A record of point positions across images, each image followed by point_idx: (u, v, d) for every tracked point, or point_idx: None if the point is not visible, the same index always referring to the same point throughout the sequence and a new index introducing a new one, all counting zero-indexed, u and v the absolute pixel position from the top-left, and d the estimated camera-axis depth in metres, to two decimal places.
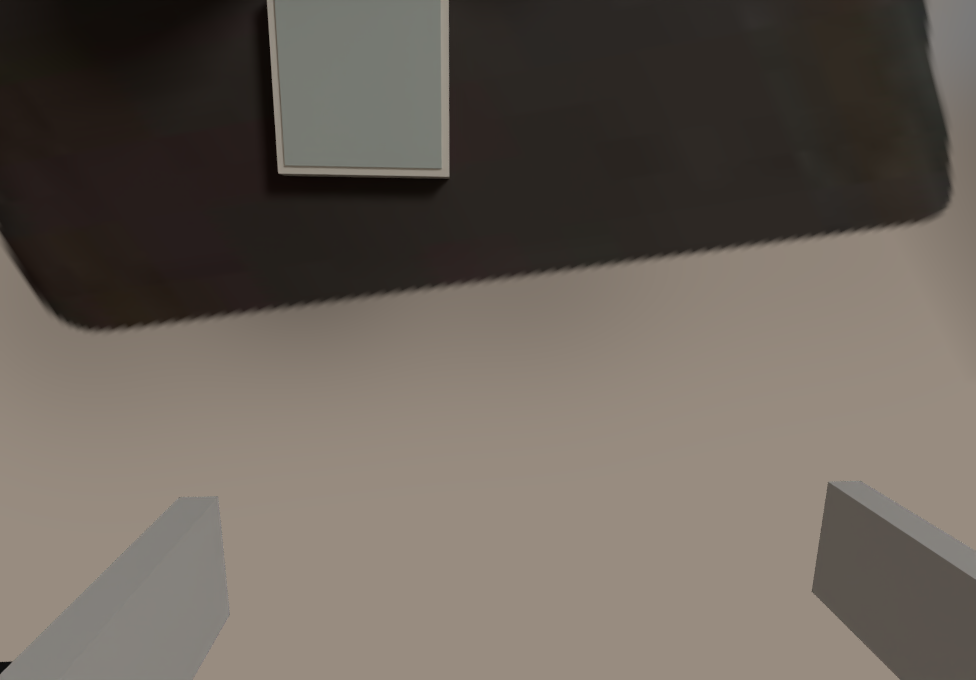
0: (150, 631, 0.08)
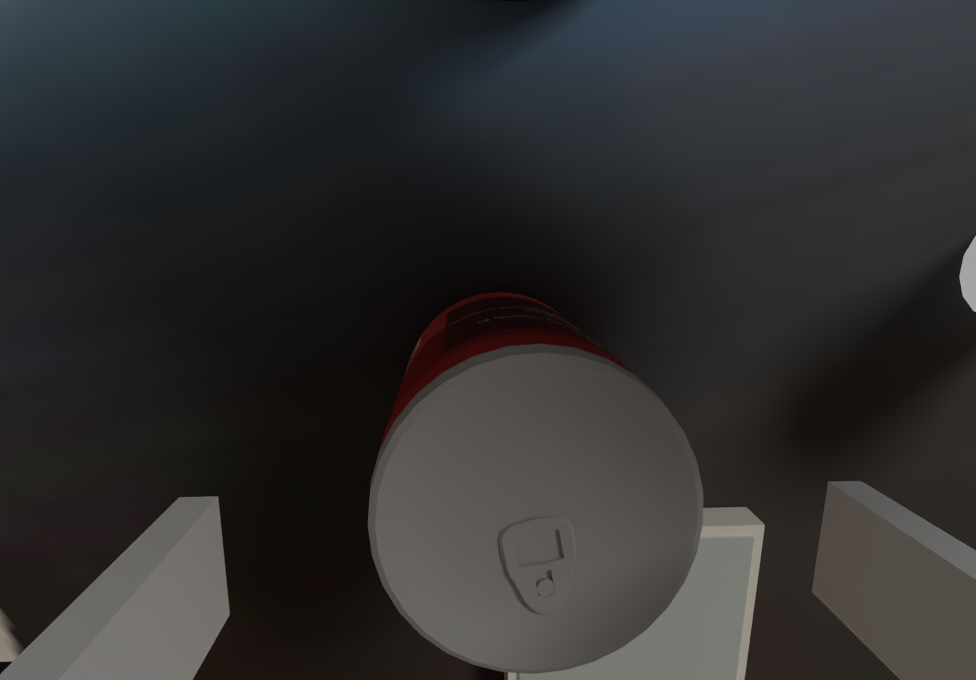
0: (150, 631, 0.08)
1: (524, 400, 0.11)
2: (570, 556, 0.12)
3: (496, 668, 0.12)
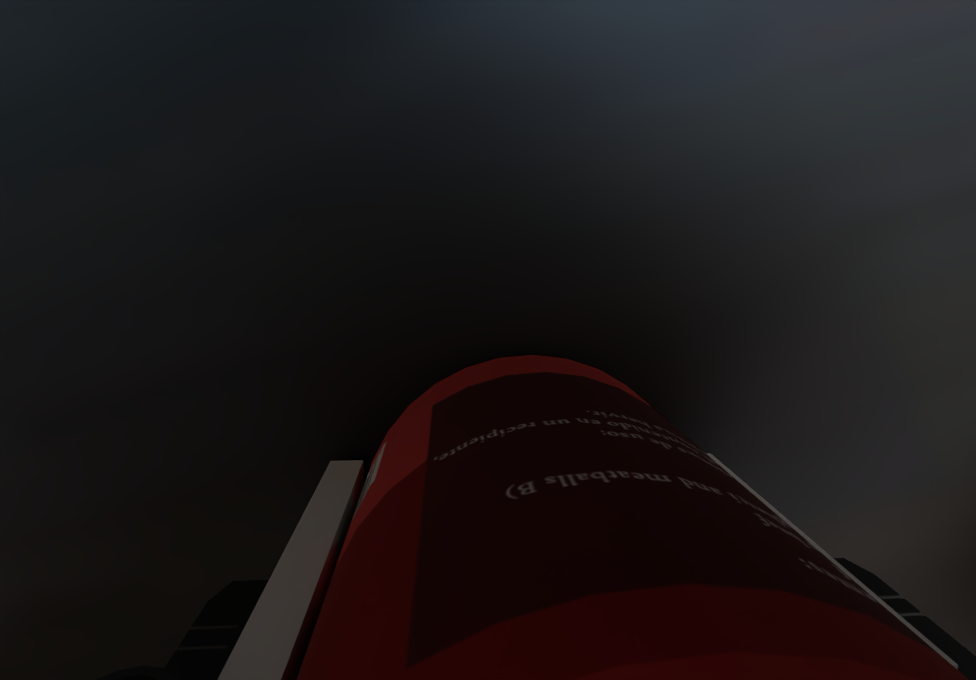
0: None
1: None
2: None
3: None
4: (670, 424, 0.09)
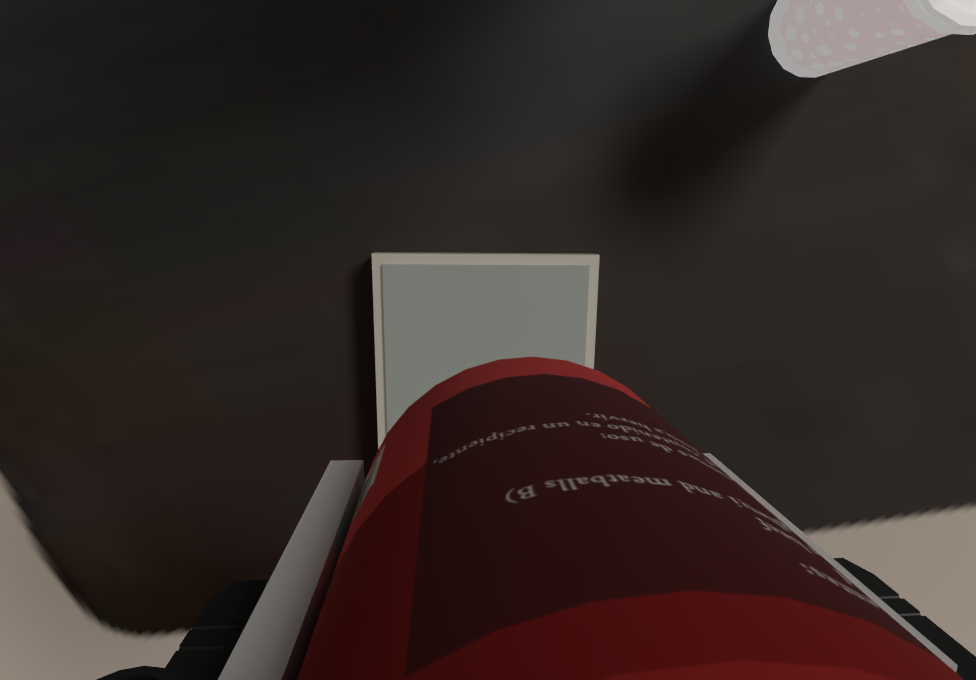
0: None
1: None
2: None
3: None
4: (670, 426, 0.09)
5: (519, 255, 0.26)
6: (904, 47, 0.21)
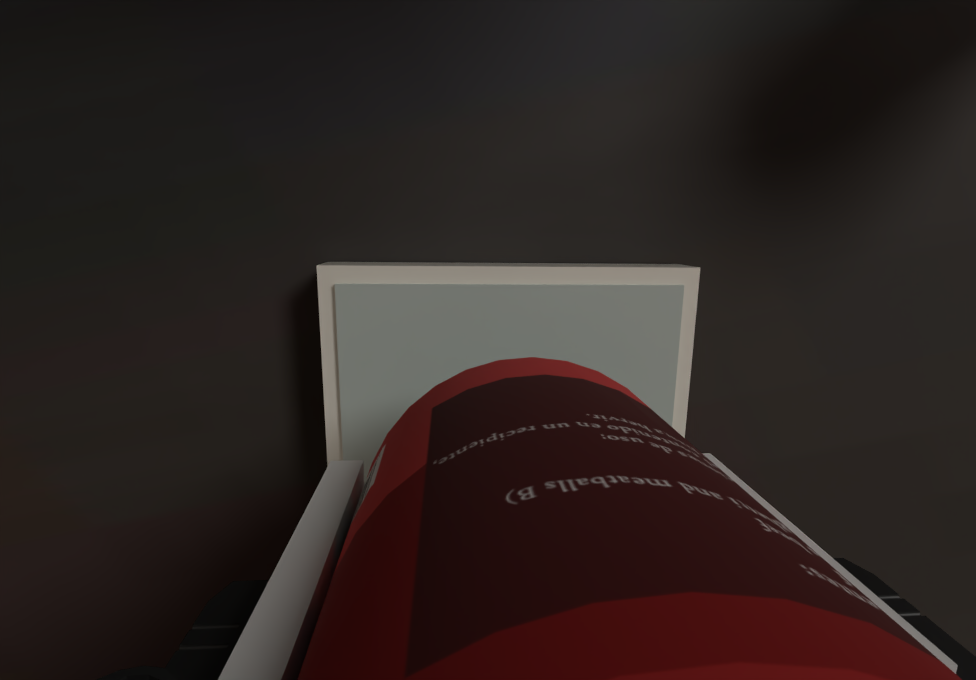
0: None
1: None
2: None
3: None
4: (670, 427, 0.09)
5: (567, 268, 0.15)
6: None
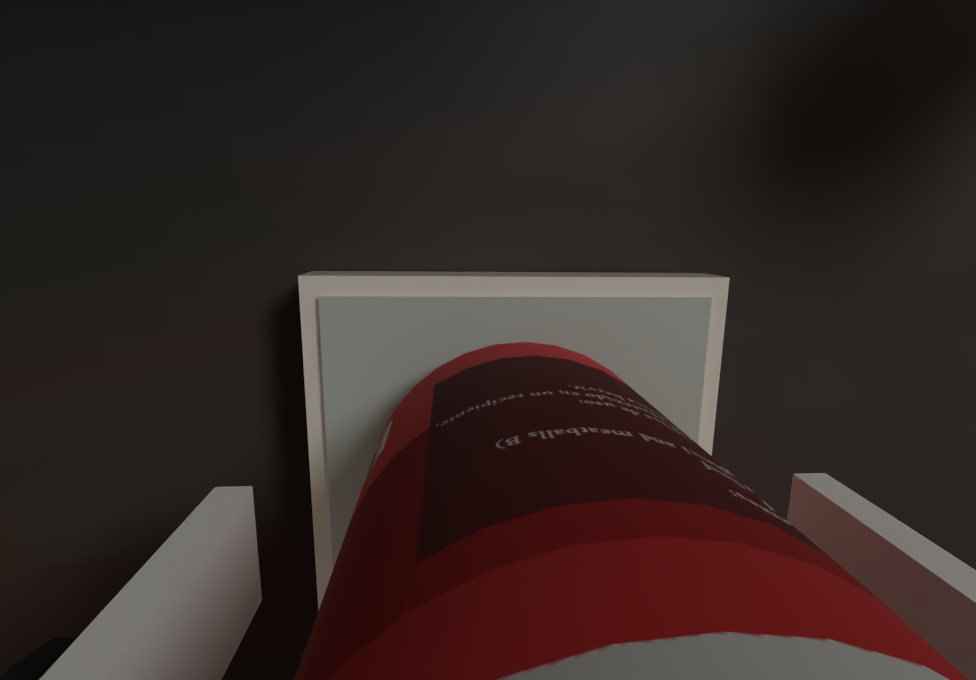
0: (197, 611, 0.09)
1: None
2: None
3: None
4: (645, 400, 0.11)
5: (580, 278, 0.14)
6: None
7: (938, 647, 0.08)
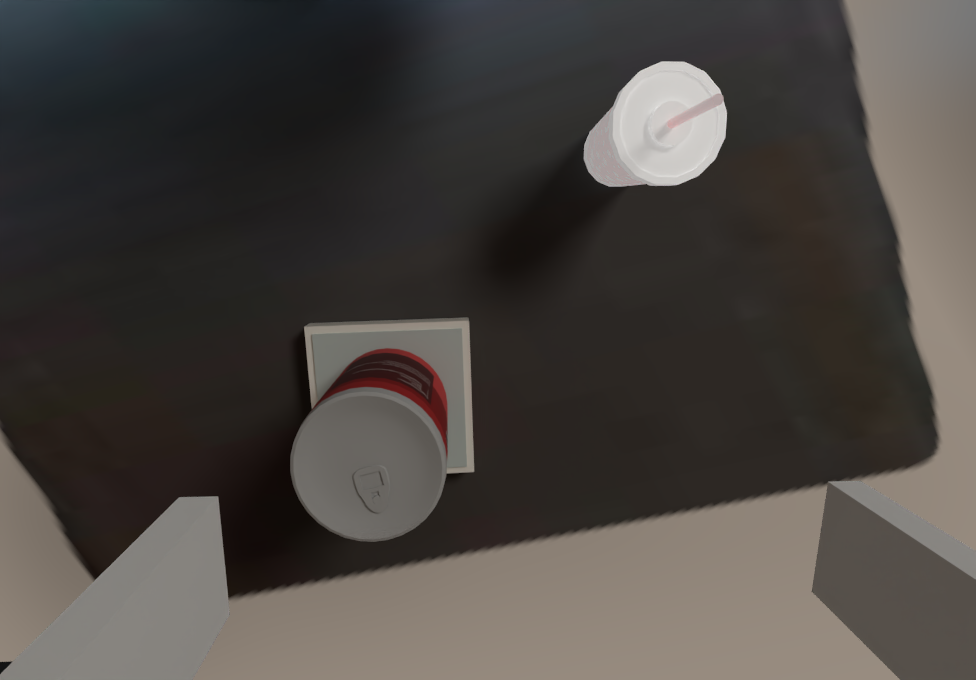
0: (150, 631, 0.08)
1: (358, 412, 0.26)
2: (387, 484, 0.27)
3: (355, 538, 0.27)
4: (416, 365, 0.33)
5: (410, 323, 0.36)
6: None
7: None
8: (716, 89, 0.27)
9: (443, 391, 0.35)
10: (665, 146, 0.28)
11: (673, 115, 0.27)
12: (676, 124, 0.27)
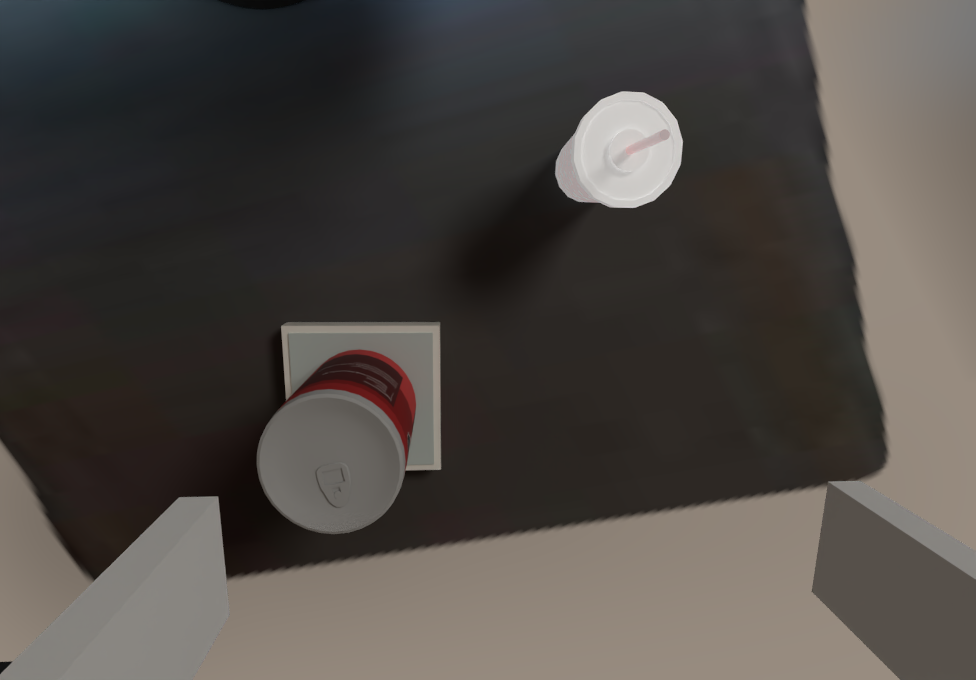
0: (150, 631, 0.08)
1: (322, 412, 0.27)
2: (348, 481, 0.28)
3: (316, 530, 0.28)
4: (385, 367, 0.34)
5: (383, 326, 0.38)
6: None
7: None
8: (673, 119, 0.29)
9: (411, 392, 0.36)
10: (623, 171, 0.29)
11: (631, 142, 0.29)
12: (632, 152, 0.28)
